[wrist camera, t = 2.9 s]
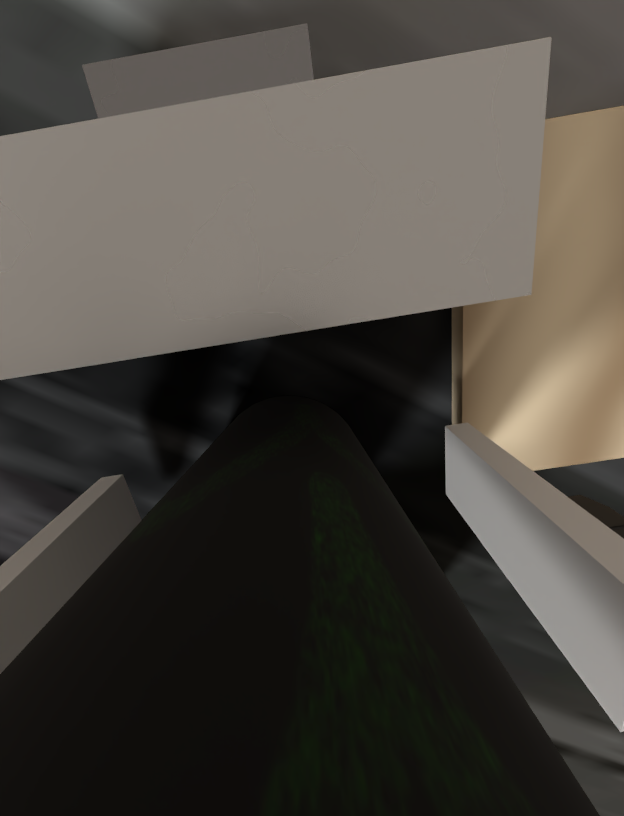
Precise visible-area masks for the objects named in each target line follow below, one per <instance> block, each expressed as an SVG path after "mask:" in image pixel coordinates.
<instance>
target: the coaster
mask: <svg viewBox="0 0 624 816" xmlns="http://www.w3.org/2000/svg"><path fill="white" fill-rule="evenodd" d="M461 423H469V424H470V425H472V426H473V427H474V428H476V429H477V430H478V431H480V432H481V433H482V434H484V435H485V436H486V437H488V438H489V439H490V440H492V441H493V442H494V443H496V444H497V445H498V446H500V447H501V448H502V449H504V450H505V451H506V452H508V453H509V454H511V455H512V456H513V457H515V458H516V459H517V460H519V461H520V462H521V463H523V464H524V465H525V466H527V467H528V468H529V469H531V470H532V471H535V470H542V469H548V468H555V467H562V466H569V465H576V464H583V463H589V462H596V461H603V460H610V459H617V458H624V106H618V107H612V108H607V109H601V110H595V111H590V112H584V113H578V114H572V115H567V116H561V117H555V118H549V119H545V128H544V140H543V153H542V166H541V179H540V191H539V204H538V217H537V230H536V242H535V255H534V268H533V280H532V293H531V295H527V296H521V297H515V298H508V299H502V300H496V301H490V302H483V303H477V304H471V305H465V306H458V307H452V425H455V424H461Z"/></svg>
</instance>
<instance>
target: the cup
mask: <svg viewBox="0 0 624 816" xmlns="http://www.w3.org/2000/svg"><path fill="white" fill-rule="evenodd" d="M0 816H600V815H599V814H598V812H597V811H596V809H595V808H594V806H593V805H592V803H591V801H590V800H589V798H588V797H587V795H586V794H585V792H584V791H583V789H582V787H581V786H580V784H579V783H578V781H577V780H576V778H575V777H574V775H573V773H572V772H571V770H570V769H569V767H568V766H567V764H566V763H565V761H564V759H563V758H562V756H561V755H560V753H559V752H558V750H557V749H556V747H555V745H554V744H553V742H552V741H551V739H550V738H549V736H548V735H547V733H546V731H545V730H544V728H543V727H542V725H541V724H540V722H539V721H538V719H537V717H536V716H535V714H534V713H533V711H532V710H531V708H530V707H529V705H528V703H527V702H526V700H525V699H524V697H523V696H522V694H521V693H520V691H519V689H518V688H517V686H516V685H515V683H514V682H513V680H512V679H511V677H510V675H509V674H508V672H507V671H506V669H505V668H504V666H503V665H502V663H501V661H500V660H499V658H498V657H497V655H496V654H495V652H494V651H493V649H492V647H491V646H490V644H489V643H488V641H487V640H486V638H485V637H484V635H483V633H482V632H481V630H480V629H479V627H478V626H477V624H476V623H475V621H474V619H473V618H472V616H471V615H470V613H469V612H468V610H467V609H466V607H465V605H464V604H463V602H462V601H461V599H460V598H459V596H458V595H457V593H456V591H455V590H454V588H453V587H452V585H451V584H450V582H449V581H448V579H447V577H446V576H445V574H444V573H443V571H442V570H441V568H440V567H439V565H438V563H437V562H436V560H435V559H434V557H433V556H432V554H431V553H430V551H429V549H428V548H427V546H426V545H425V543H424V542H423V540H422V539H421V537H420V535H419V534H418V532H417V531H416V529H415V528H414V526H413V525H412V523H411V521H410V520H409V518H408V517H407V515H406V514H405V512H404V511H403V509H402V507H401V506H400V504H399V503H398V501H397V500H396V498H395V497H394V495H393V493H392V492H391V490H390V489H389V487H388V486H387V484H386V483H385V481H384V479H383V478H382V476H381V475H380V473H379V472H378V470H377V469H376V467H375V465H374V464H373V462H372V461H371V459H370V458H369V456H368V455H367V453H366V451H365V450H364V448H363V447H362V445H361V444H360V442H359V441H358V439H357V437H356V436H355V434H354V433H353V431H352V430H351V428H350V427H349V425H348V424H347V423H346V422H345V420H344V419H343V418H342V417H341V416H340V415H339V414H338V413H337V412H336V411H334V410H332V409H331V408H329V407H328V406H326V405H325V404H323V403H321V402H318V401H315V400H312V399H309V398H306V397H298V396H280V397H273V398H268V399H266V400H263V401H261V402H258V403H255V404H253V405H252V406H250V407H249V408H247V409H246V410H245V411H243V412H242V413H240V414H239V415H238V416H237V417H236V418H235V420H234V421H233V422H232V423H231V424H230V425H229V426H228V427H227V428H226V429H225V430H224V431H223V433H222V434H221V435H220V436H219V437H218V438H217V439H216V440H215V441H214V442H213V443H212V445H211V446H210V447H209V448H208V449H207V450H206V451H205V452H204V453H203V454H202V455H201V456H200V458H199V459H198V460H197V461H196V462H195V463H194V464H193V465H192V466H191V467H190V468H189V470H188V471H187V472H186V473H185V474H184V475H183V476H182V477H181V478H180V479H179V480H178V481H177V483H176V484H175V485H174V486H173V487H172V488H171V489H170V490H169V491H168V492H167V493H166V495H165V496H164V497H163V498H162V499H161V500H160V501H159V502H158V503H157V504H156V505H155V506H154V508H153V509H152V510H151V511H150V512H149V513H148V514H147V515H146V516H145V517H144V518H143V520H142V521H141V522H140V523H139V524H138V525H137V526H136V527H135V528H134V529H133V530H132V531H131V533H130V534H129V535H128V536H127V537H126V538H125V539H124V540H123V541H122V542H121V543H120V545H119V546H118V547H117V548H116V549H115V550H114V551H113V552H112V553H111V554H110V555H109V556H108V558H107V559H106V560H105V561H104V562H103V563H102V564H101V565H100V566H99V567H98V568H97V570H96V571H95V572H94V573H93V574H92V575H91V576H90V577H89V578H88V579H87V580H86V581H85V583H84V584H83V585H82V586H81V587H80V588H79V589H78V590H77V591H76V592H75V593H74V595H73V596H72V597H71V598H70V599H69V600H68V601H67V602H66V603H65V604H64V605H63V606H62V608H61V609H60V610H59V611H58V612H57V613H56V614H55V615H54V616H53V617H52V618H51V620H50V621H49V622H48V623H47V624H46V625H45V626H44V627H43V628H42V629H41V630H40V631H39V633H38V634H37V635H36V636H35V637H34V638H33V639H32V640H31V641H30V642H29V643H28V644H27V646H26V647H25V648H24V649H23V650H22V651H21V652H20V653H19V654H18V655H17V656H16V658H15V659H14V660H13V661H12V662H11V663H10V664H9V665H8V666H7V667H6V668H5V669H4V671H3V672H2V673H1V674H0Z"/></svg>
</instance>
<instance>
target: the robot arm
mask: <svg viewBox="0 0 624 816" xmlns="http://www.w3.org/2000/svg"><path fill="white" fill-rule="evenodd" d="M445 474H446V495H447V497H448V498H449V499H450V501H451V502H452V503H453V505H454V506H455V507H456V509H457V510H458V512H459V513H460V514H461V516H462V517H463V518H464V520H465V521H466V522H467V524H468V525H469V527H470V528H471V529H472V531H473V532H474V533H475V535H476V536H477V537H478V539H479V540H480V541H481V543H482V544H483V546H484V547H485V548H486V550H487V551H488V552H489V554H490V555H491V556H492V558H493V559H494V561H495V562H496V563H497V565H498V566H499V567H500V569H501V570H502V571H503V573H504V574H505V576H506V577H507V578H508V580H509V581H510V582H511V584H512V585H513V586H514V588H515V589H516V591H517V592H518V593H519V595H520V596H521V597H522V599H523V600H524V601H525V603H526V604H527V606H528V607H529V608H530V610H531V611H532V612H533V614H534V615H535V616H536V618H537V619H538V620H539V622H540V623H541V625H542V626H543V627H544V629H545V630H546V631H547V633H548V634H549V635H550V637H551V638H552V640H553V641H554V642H555V644H556V645H557V646H558V648H559V649H560V650H561V652H562V653H563V655H564V656H565V657H566V659H567V660H568V661H569V663H570V664H571V665H572V667H573V668H574V670H575V671H576V672H577V674H578V675H579V676H580V678H581V679H582V680H583V682H584V683H585V685H586V686H587V687H588V689H589V690H590V691H591V693H592V694H593V695H594V697H595V698H596V699H597V701H598V702H599V704H600V705H601V706H602V708H603V709H604V710H605V712H606V713H607V714H608V716H609V717H610V719H611V720H612V721H613V723H614V724H615V725H616V727H617V728H618V729H619V731H620V732H623V731H624V517H623V516H621V515H620V514H618V513H617V512H615V511H614V510H613V509H611V508H610V507H608V506H605V505H603V504H601V503H598V502H596V501H594V500H591V499H589V498H587V497H584V496H582V495H576V496H569V497H567V496H566V495H564V494H563V493H562V492H560V491H559V490H558V489H556V488H555V487H554V486H552V485H551V484H550V483H548V482H547V481H545V480H544V479H543V478H541V477H540V476H539V475H537V474H536V473H535V472H533V471H532V470H531V469H529V468H528V467H527V466H525V465H524V464H523V463H521V462H520V461H519V460H517V459H516V458H515V457H513V456H512V455H511V454H509V453H508V452H506V451H505V450H504V449H502V448H501V447H500V446H498V445H497V444H496V443H494V442H493V441H492V440H490V439H489V438H488V437H486V436H485V435H484V434H482V433H481V432H480V431H478V430H477V429H476V428H474V427H473V426H472V425H470V424H469V423H461V424H455V425H448V426H445ZM141 521H142V520H141V518H140V515H139V513H138V510H137V508H136V505H135V503H134V501H133V498H132V496H131V493H130V491H129V488H128V486H127V484H126V481H125V479H124V476H123V474H122V475H115V476H109V477H102V478H100V479H99V480H98V481H97V482H96V483H95V484H94V485H92V486H91V487H90V488H89V489H88V490H87V491H86V492H84V493H83V494H82V495H81V496H80V497H79V498H78V499H76V500H75V501H74V502H73V503H72V504H71V505H70V506H68V507H67V508H66V509H65V510H64V511H63V512H62V513H60V514H59V515H58V516H57V517H56V518H55V519H54V520H52V521H51V522H50V523H49V524H48V525H47V526H46V527H44V528H43V529H42V530H41V531H40V532H39V533H38V534H36V535H35V536H34V537H33V538H32V539H31V540H30V541H28V542H27V543H26V544H25V545H24V546H23V547H22V548H20V549H19V550H18V551H17V552H16V553H15V554H14V555H12V556H11V557H10V558H9V559H8V560H7V561H6V562H4V563H3V564H2V565H1V566H0V674H1V673H2V672H3V671H4V669H5V668H6V667H7V666H8V665H9V664H10V663H11V662H12V661H13V660H14V659H15V658H16V656H17V655H18V654H19V653H20V652H21V651H22V650H23V649H24V648H25V647H26V646H27V644H28V643H29V642H30V641H31V640H32V639H33V638H34V637H35V636H36V635H37V634H38V633H39V631H40V630H41V629H42V628H43V627H44V626H45V625H46V624H47V623H48V622H49V621H50V620H51V618H52V617H53V616H54V615H55V614H56V613H57V612H58V611H59V610H60V609H61V608H62V606H63V605H64V604H65V603H66V602H67V601H68V600H69V599H70V598H71V597H72V596H73V595H74V593H75V592H76V591H77V590H78V589H79V588H80V587H81V586H82V585H83V584H84V583H85V581H86V580H87V579H88V578H89V577H90V576H91V575H92V574H93V573H94V572H95V571H96V570H97V568H98V567H99V566H100V565H101V564H102V563H103V562H104V561H105V560H106V559H107V558H108V556H109V555H110V554H111V553H112V552H113V551H114V550H115V549H116V548H117V547H118V546H119V545H120V543H121V542H122V541H123V540H124V539H125V538H126V537H127V536H128V535H129V534H130V533H131V531H132V530H133V529H134V528H135V527H136V526H137V525H138V524H139V523H140V522H141Z"/></svg>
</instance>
